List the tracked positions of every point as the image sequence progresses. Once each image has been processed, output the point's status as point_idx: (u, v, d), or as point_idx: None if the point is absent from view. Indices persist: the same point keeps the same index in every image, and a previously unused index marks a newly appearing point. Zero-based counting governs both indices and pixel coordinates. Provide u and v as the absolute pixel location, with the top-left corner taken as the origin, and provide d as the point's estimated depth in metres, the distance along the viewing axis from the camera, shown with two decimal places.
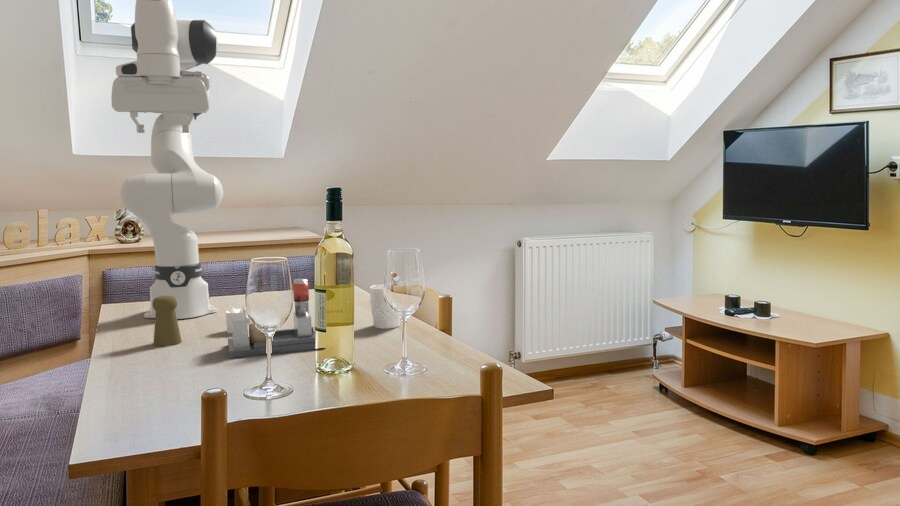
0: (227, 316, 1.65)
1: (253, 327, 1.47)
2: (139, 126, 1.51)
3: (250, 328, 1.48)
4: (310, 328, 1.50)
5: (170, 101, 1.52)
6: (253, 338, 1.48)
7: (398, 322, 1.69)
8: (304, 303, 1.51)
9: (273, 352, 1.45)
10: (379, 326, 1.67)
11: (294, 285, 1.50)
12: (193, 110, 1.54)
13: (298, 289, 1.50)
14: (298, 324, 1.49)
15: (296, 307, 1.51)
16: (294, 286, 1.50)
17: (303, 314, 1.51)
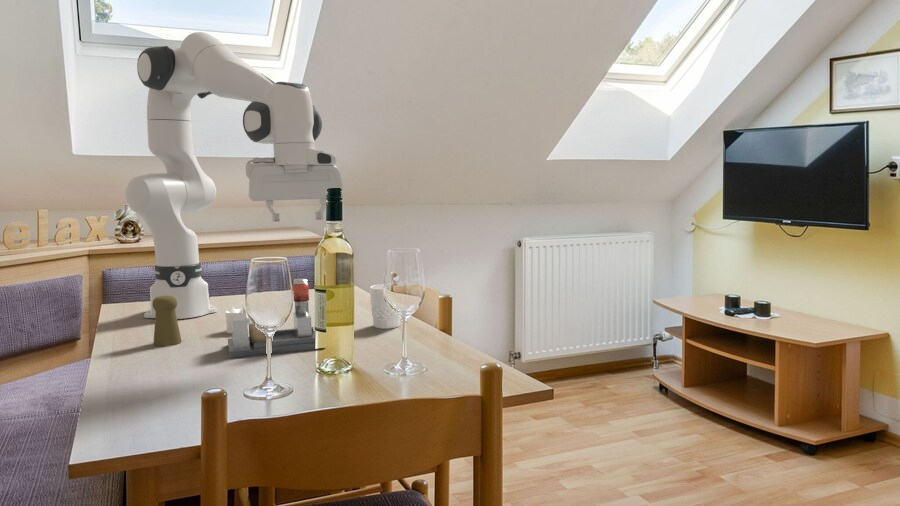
0: (227, 316, 1.65)
1: (253, 327, 1.47)
2: None
3: (250, 328, 1.48)
4: (310, 328, 1.50)
5: None
6: (254, 338, 1.48)
7: (398, 322, 1.69)
8: (304, 303, 1.51)
9: (273, 352, 1.45)
10: (379, 326, 1.67)
11: (294, 285, 1.50)
12: None
13: (298, 289, 1.50)
14: (298, 324, 1.49)
15: (296, 307, 1.51)
16: (294, 286, 1.50)
17: (303, 314, 1.51)
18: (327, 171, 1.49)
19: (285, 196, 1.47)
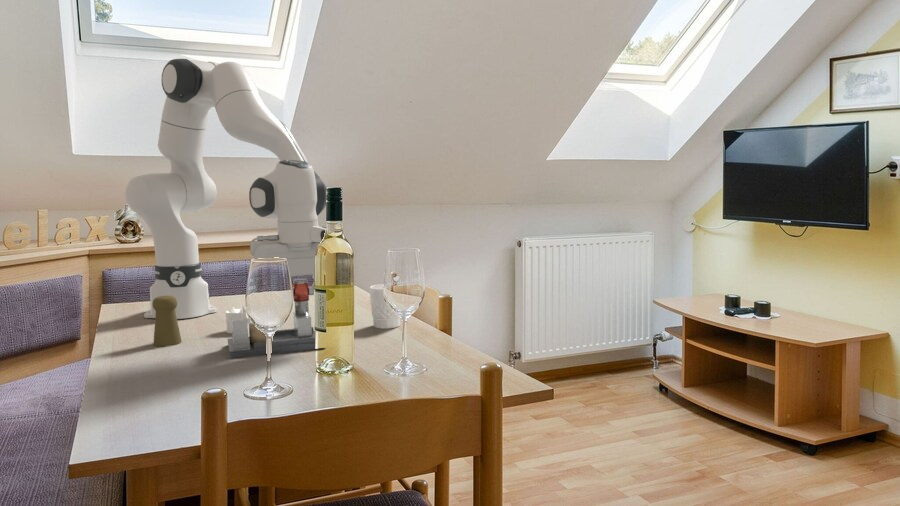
0: (227, 316, 1.65)
1: (255, 327, 1.47)
2: None
3: (251, 328, 1.48)
4: (310, 328, 1.50)
5: None
6: (255, 338, 1.48)
7: (398, 322, 1.69)
8: (304, 303, 1.51)
9: (273, 352, 1.45)
10: (379, 326, 1.67)
11: (294, 285, 1.50)
12: None
13: (298, 289, 1.50)
14: (298, 324, 1.49)
15: (296, 307, 1.51)
16: (294, 286, 1.50)
17: (303, 314, 1.51)
18: None
19: None
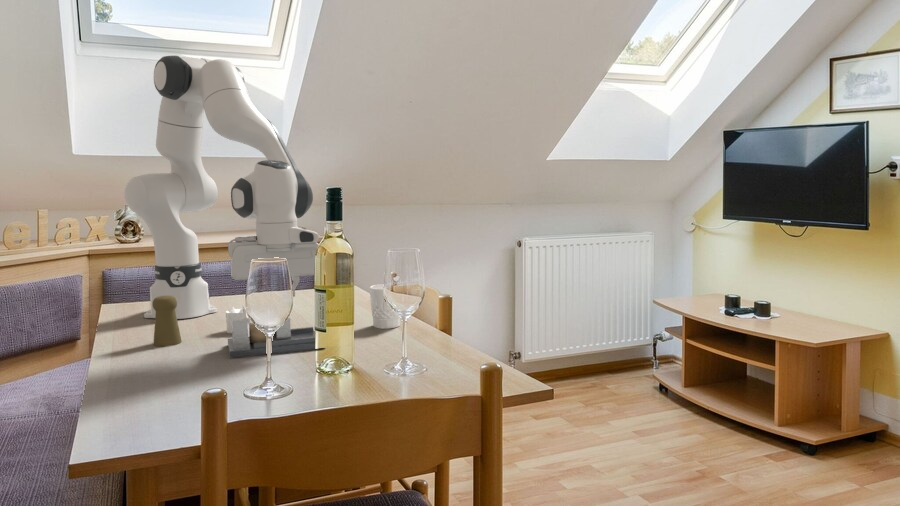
0: (227, 316, 1.65)
1: None
2: None
3: (252, 328, 1.48)
4: (289, 330, 1.48)
5: None
6: (256, 338, 1.47)
7: (398, 322, 1.69)
8: None
9: (273, 352, 1.45)
10: (379, 326, 1.67)
11: None
12: None
13: None
14: None
15: None
16: None
17: None
18: (309, 248, 1.49)
19: None
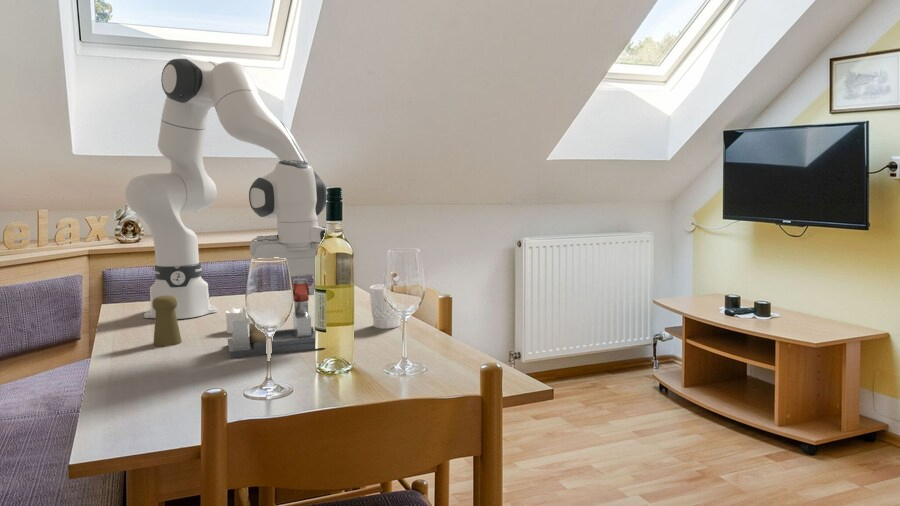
0: (227, 316, 1.65)
1: None
2: None
3: (253, 328, 1.47)
4: (310, 328, 1.50)
5: None
6: (257, 338, 1.47)
7: (398, 322, 1.69)
8: (304, 303, 1.51)
9: (273, 352, 1.45)
10: (379, 326, 1.67)
11: (294, 285, 1.50)
12: None
13: (298, 289, 1.50)
14: (298, 324, 1.49)
15: (296, 307, 1.51)
16: (294, 286, 1.50)
17: (303, 314, 1.51)
18: None
19: None
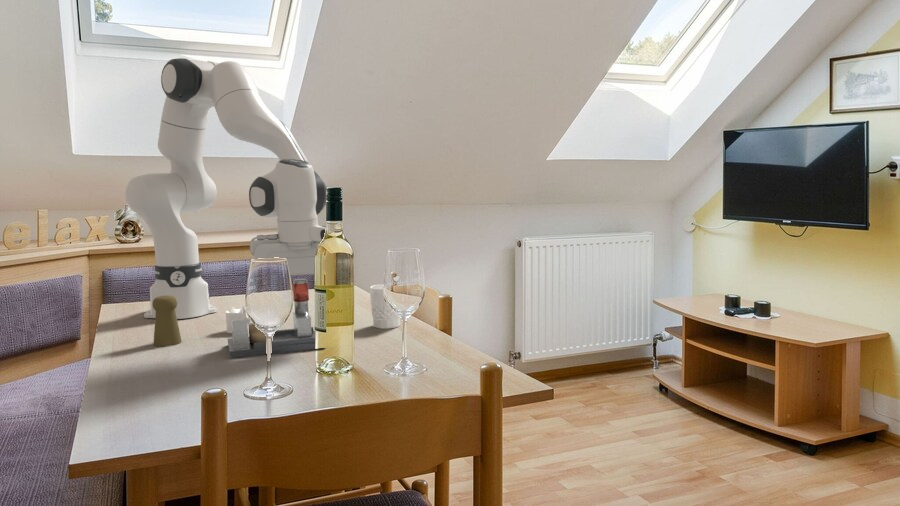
0: (227, 316, 1.65)
1: None
2: None
3: (254, 328, 1.47)
4: (310, 328, 1.50)
5: None
6: (259, 337, 1.47)
7: (398, 322, 1.69)
8: (304, 303, 1.51)
9: (273, 352, 1.45)
10: (379, 326, 1.67)
11: (294, 285, 1.50)
12: None
13: (298, 289, 1.50)
14: (298, 324, 1.49)
15: (296, 307, 1.51)
16: (294, 286, 1.50)
17: (303, 314, 1.51)
18: None
19: None
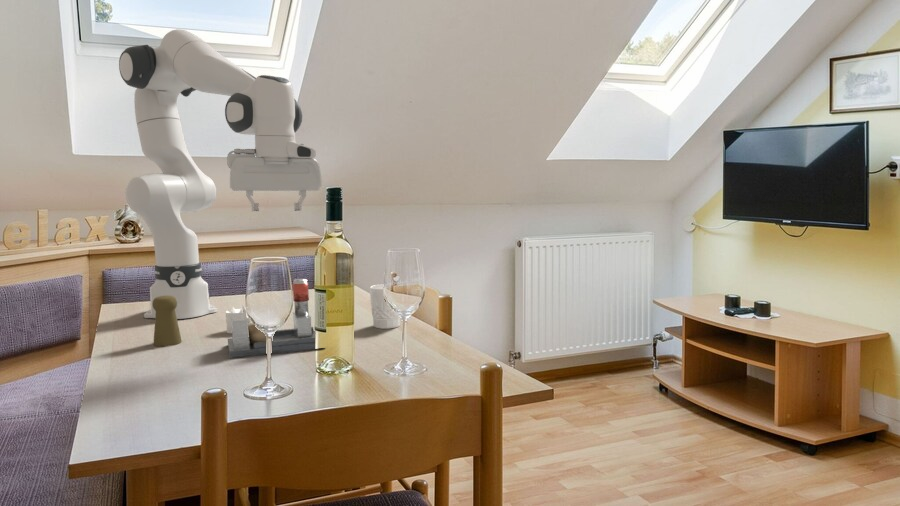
0: (227, 316, 1.65)
1: None
2: None
3: (254, 329, 1.47)
4: (310, 328, 1.50)
5: None
6: (260, 338, 1.47)
7: (398, 322, 1.69)
8: (304, 303, 1.51)
9: (273, 352, 1.45)
10: (379, 326, 1.67)
11: (294, 285, 1.50)
12: None
13: (298, 289, 1.50)
14: (298, 324, 1.49)
15: (296, 307, 1.51)
16: (294, 286, 1.50)
17: (303, 314, 1.51)
18: (306, 164, 1.53)
19: (265, 187, 1.51)
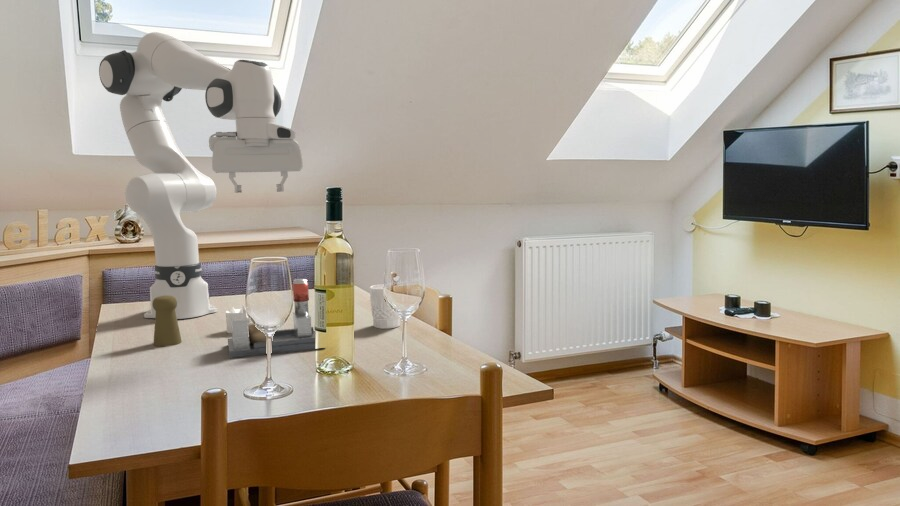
0: (227, 316, 1.65)
1: None
2: None
3: (256, 328, 1.47)
4: (310, 328, 1.50)
5: None
6: (262, 337, 1.48)
7: (398, 322, 1.68)
8: (304, 303, 1.51)
9: (273, 352, 1.45)
10: (379, 326, 1.67)
11: (294, 285, 1.50)
12: None
13: (298, 289, 1.50)
14: (298, 324, 1.49)
15: (296, 307, 1.51)
16: (294, 286, 1.50)
17: (303, 314, 1.51)
18: (287, 145, 1.57)
19: (247, 168, 1.55)
